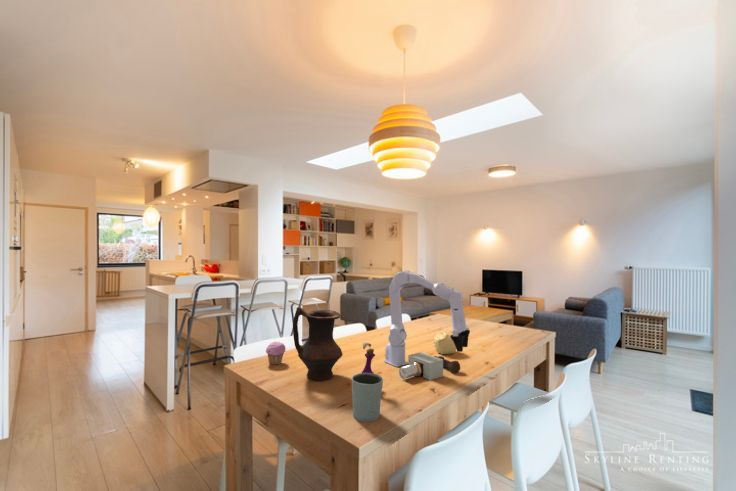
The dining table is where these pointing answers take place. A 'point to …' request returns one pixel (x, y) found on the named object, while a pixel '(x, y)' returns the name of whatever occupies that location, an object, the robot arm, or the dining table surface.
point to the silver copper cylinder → (411, 370)
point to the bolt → (450, 365)
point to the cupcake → (275, 352)
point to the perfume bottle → (368, 358)
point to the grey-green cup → (366, 396)
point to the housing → (428, 364)
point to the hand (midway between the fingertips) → (462, 349)
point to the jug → (318, 343)
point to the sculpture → (444, 343)
